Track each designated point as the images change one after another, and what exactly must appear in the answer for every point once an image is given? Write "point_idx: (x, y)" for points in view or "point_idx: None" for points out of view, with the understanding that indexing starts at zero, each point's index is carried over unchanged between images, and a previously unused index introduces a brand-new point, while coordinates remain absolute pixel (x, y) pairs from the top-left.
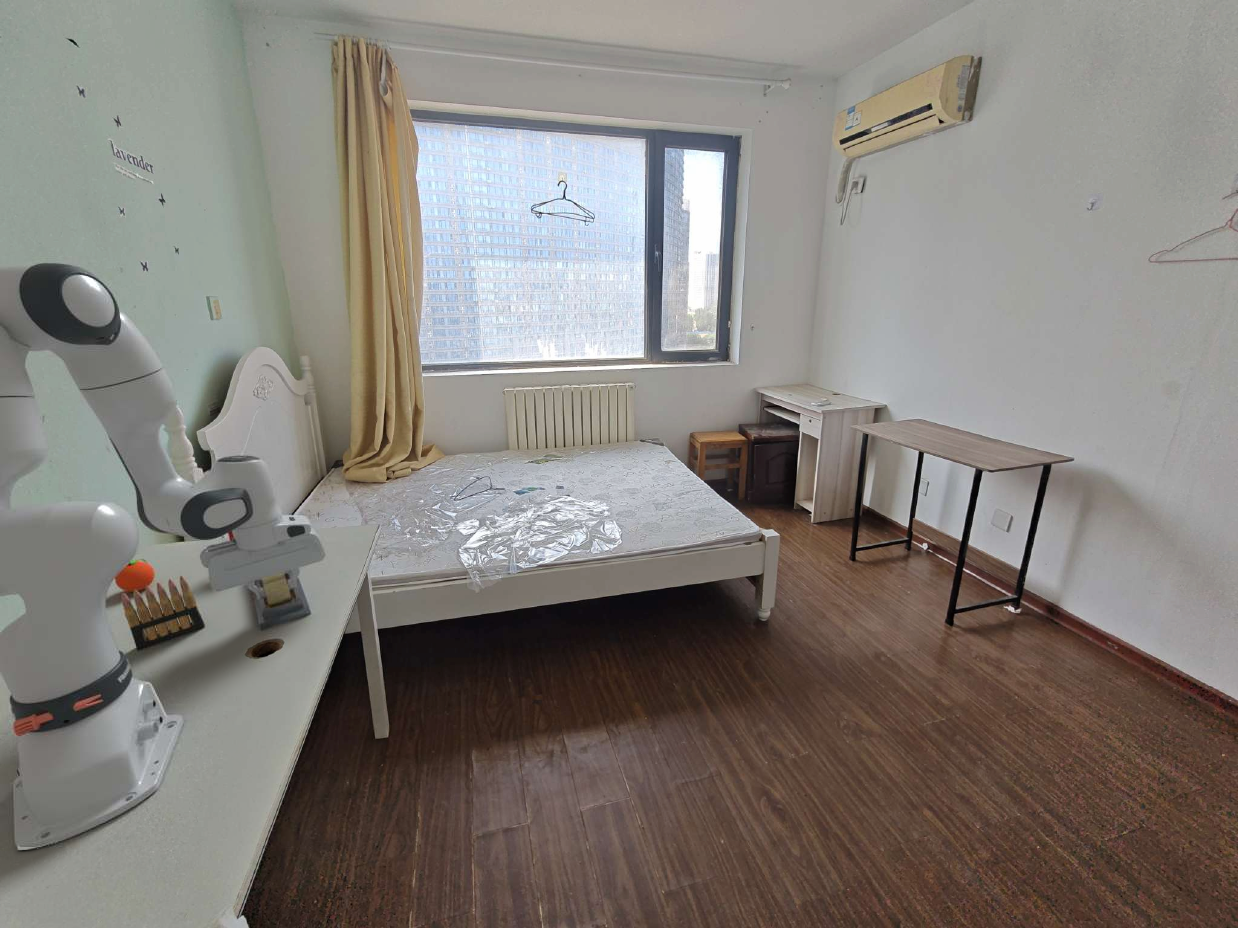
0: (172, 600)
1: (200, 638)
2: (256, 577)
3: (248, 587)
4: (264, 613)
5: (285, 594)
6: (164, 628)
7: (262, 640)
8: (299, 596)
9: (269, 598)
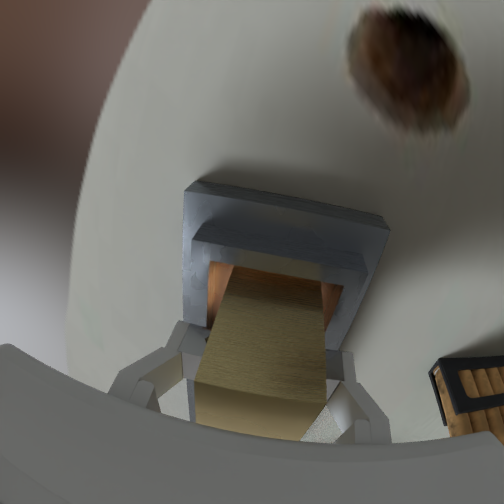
0: None
1: (473, 319)
2: (348, 461)
3: (383, 418)
4: (357, 267)
5: (241, 308)
6: (496, 381)
7: (405, 136)
8: (195, 276)
9: (314, 326)
